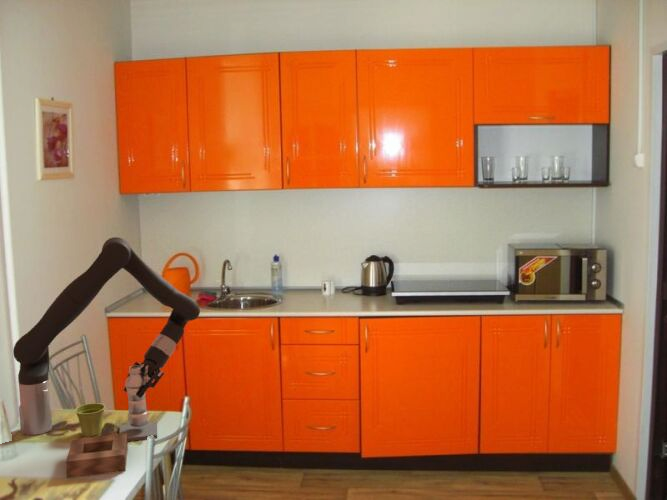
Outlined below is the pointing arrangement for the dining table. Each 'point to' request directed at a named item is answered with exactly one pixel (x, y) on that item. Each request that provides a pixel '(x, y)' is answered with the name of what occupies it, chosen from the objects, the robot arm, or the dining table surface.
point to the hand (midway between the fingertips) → (132, 394)
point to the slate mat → (139, 431)
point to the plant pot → (90, 418)
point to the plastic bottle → (136, 398)
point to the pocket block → (97, 455)
